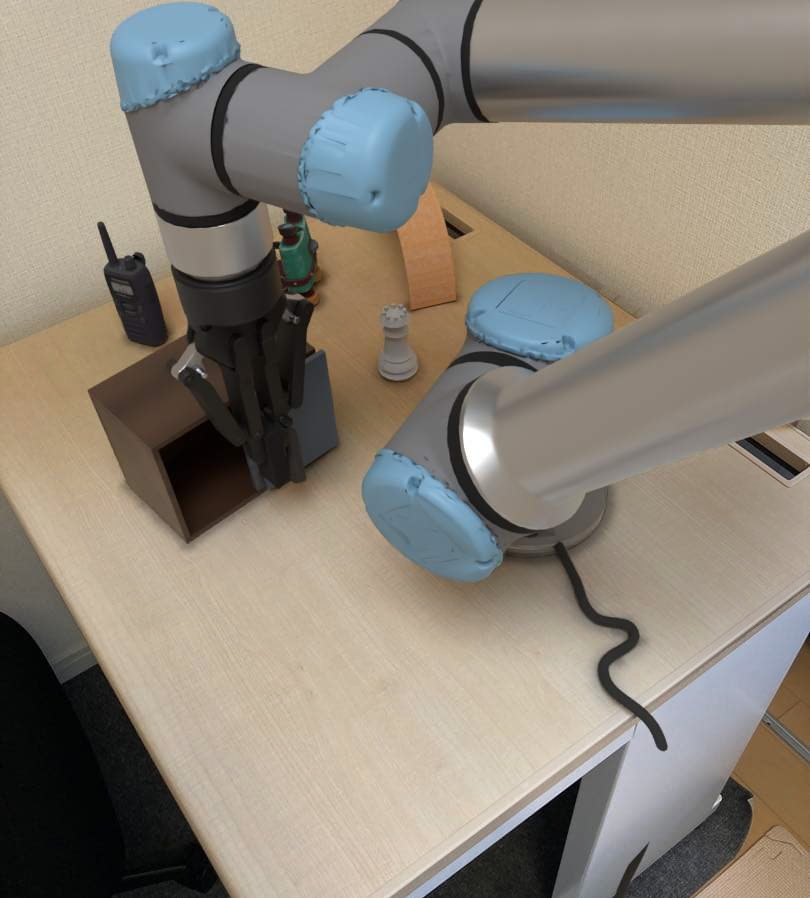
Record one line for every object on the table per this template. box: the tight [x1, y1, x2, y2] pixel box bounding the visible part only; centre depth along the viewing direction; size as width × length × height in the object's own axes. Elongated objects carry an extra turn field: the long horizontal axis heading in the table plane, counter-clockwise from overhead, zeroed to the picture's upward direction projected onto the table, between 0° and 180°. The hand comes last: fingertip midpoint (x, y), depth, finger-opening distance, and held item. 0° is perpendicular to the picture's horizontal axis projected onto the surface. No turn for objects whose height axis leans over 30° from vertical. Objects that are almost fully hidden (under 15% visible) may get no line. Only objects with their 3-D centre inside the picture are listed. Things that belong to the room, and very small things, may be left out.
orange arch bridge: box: [395, 179, 457, 311], centre depth 109 cm, size 6×20×10 cm, turn 16°
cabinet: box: [86, 333, 317, 544], centre depth 88 cm, size 10×18×13 cm, turn 133°
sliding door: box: [254, 348, 340, 491], centre depth 86 cm, size 5×9×12 cm, turn 133°
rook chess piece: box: [377, 302, 419, 382], centre depth 97 cm, size 4×4×8 cm
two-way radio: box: [96, 220, 168, 347], centre depth 101 cm, size 6×4×15 cm
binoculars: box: [273, 208, 323, 306], centre depth 107 cm, size 9×11×10 cm
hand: (275, 476), depth 83 cm, fingers closed
